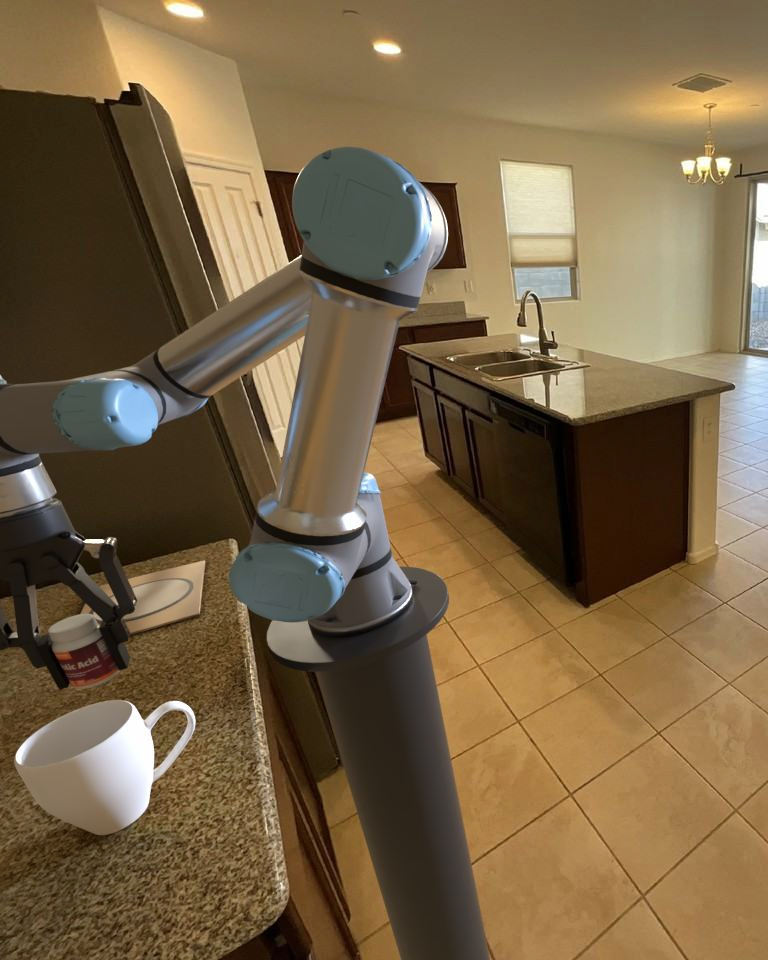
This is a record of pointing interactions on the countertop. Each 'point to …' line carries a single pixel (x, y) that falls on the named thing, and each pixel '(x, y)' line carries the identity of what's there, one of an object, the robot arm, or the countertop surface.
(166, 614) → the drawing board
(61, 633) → the pill bottle
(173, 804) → the countertop surface
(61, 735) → the mug
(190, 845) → the countertop surface
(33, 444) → the robot arm
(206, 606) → the countertop surface
